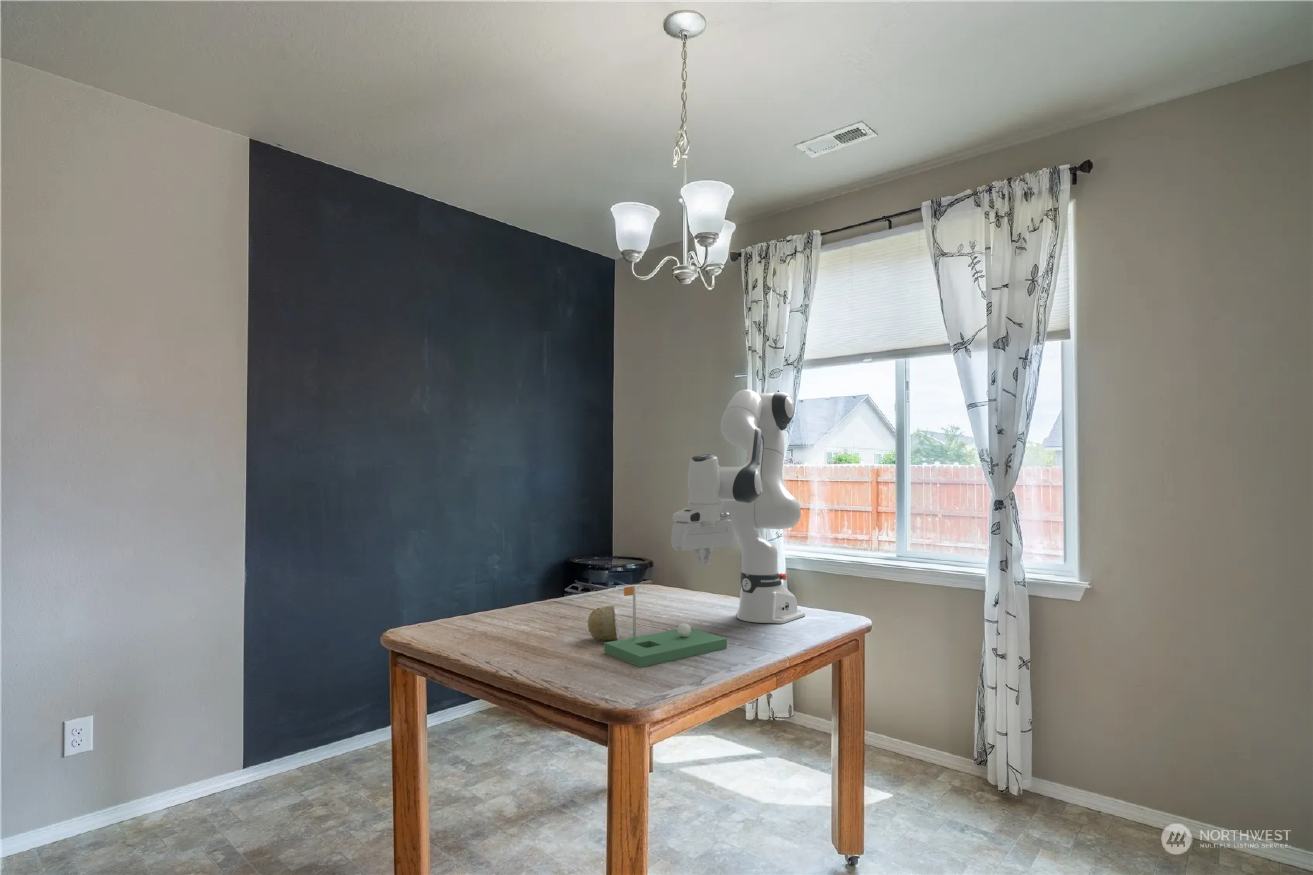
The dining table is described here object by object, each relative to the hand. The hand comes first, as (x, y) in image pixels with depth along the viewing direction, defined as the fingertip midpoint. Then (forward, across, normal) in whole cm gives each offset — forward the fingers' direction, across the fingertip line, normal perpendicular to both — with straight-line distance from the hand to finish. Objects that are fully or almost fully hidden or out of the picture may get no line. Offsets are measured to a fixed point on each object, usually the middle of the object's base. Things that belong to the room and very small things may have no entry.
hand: (703, 564), depth 188 cm
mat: (+21, +13, 0) cm, 25 cm away
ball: (+17, +7, 0) cm, 18 cm away
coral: (+21, +20, -19) cm, 35 cm away
